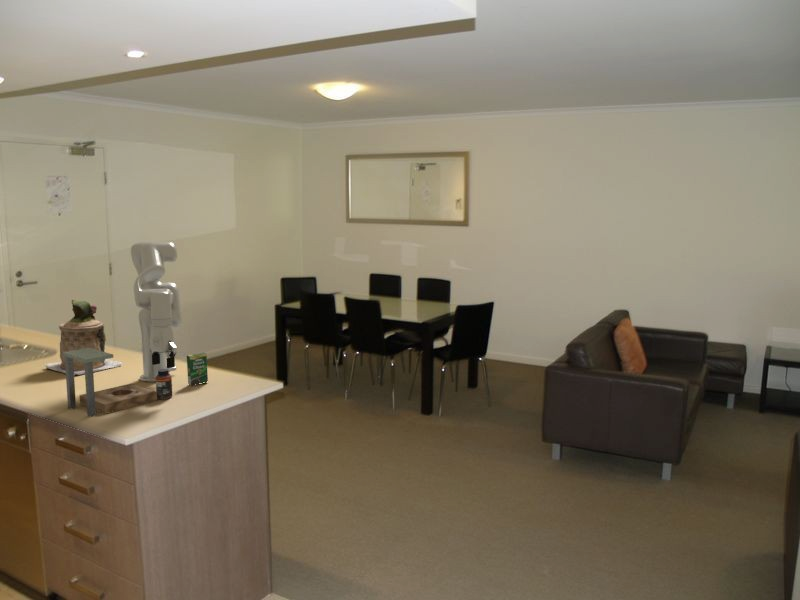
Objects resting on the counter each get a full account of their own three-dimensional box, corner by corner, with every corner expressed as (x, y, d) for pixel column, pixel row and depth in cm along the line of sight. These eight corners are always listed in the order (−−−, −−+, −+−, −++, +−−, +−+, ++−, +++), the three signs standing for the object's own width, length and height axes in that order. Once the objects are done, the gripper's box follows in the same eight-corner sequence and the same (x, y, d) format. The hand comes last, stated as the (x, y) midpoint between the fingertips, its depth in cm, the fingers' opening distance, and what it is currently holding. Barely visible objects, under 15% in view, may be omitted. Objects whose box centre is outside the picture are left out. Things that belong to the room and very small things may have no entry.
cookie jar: (74, 377, 282) (70, 305, 278) (42, 369, 295) (38, 300, 290) (124, 366, 303) (121, 298, 298) (92, 359, 316) (89, 294, 311)
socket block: (131, 391, 261) (130, 383, 261) (156, 400, 251) (156, 391, 250) (79, 404, 245) (79, 395, 244) (105, 413, 234) (104, 404, 234)
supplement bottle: (167, 394, 259) (166, 367, 257) (175, 397, 255) (174, 369, 253) (153, 397, 254) (152, 369, 253) (161, 400, 250) (160, 372, 249)
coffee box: (190, 386, 270) (189, 356, 268) (187, 385, 272) (186, 354, 270) (208, 383, 276) (207, 353, 274) (205, 381, 278) (204, 352, 276)
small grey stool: (92, 401, 248) (89, 347, 245) (116, 410, 238) (113, 354, 235) (65, 407, 240) (62, 352, 237) (89, 417, 230) (86, 359, 227)
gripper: (140, 321, 252) (142, 364, 254) (166, 326, 242) (168, 370, 244) (157, 319, 258) (159, 361, 260) (183, 323, 248) (185, 367, 250)
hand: (163, 365), depth 252 cm, fingers open, 9 cm apart
